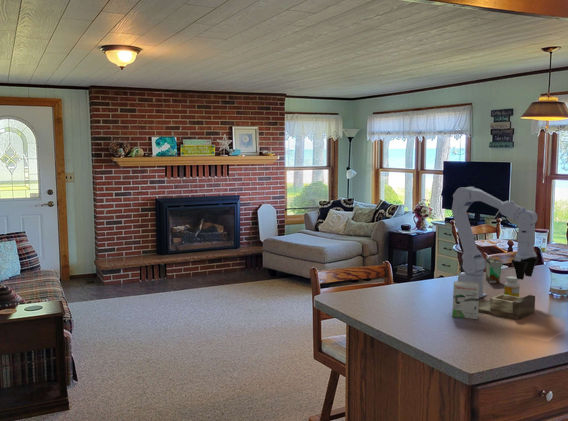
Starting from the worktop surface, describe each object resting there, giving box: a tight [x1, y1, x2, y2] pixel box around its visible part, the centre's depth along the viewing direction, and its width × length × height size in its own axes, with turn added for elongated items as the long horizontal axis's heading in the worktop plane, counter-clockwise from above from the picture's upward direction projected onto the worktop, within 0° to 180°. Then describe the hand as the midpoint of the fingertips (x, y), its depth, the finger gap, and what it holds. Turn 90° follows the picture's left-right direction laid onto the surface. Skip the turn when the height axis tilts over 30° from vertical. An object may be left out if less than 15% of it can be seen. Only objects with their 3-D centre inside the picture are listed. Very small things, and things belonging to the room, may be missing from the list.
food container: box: [485, 257, 504, 285], centre depth 246 cm, size 12×6×10 cm, turn 168°
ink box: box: [451, 280, 480, 320], centre depth 192 cm, size 9×5×12 cm, turn 73°
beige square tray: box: [489, 293, 522, 314], centre depth 198 cm, size 9×9×4 cm
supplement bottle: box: [503, 275, 521, 297], centre depth 211 cm, size 5×5×10 cm
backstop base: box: [478, 294, 536, 321], centre depth 200 cm, size 19×14×6 cm
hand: (524, 277), depth 208 cm, fingers open, 7 cm apart
